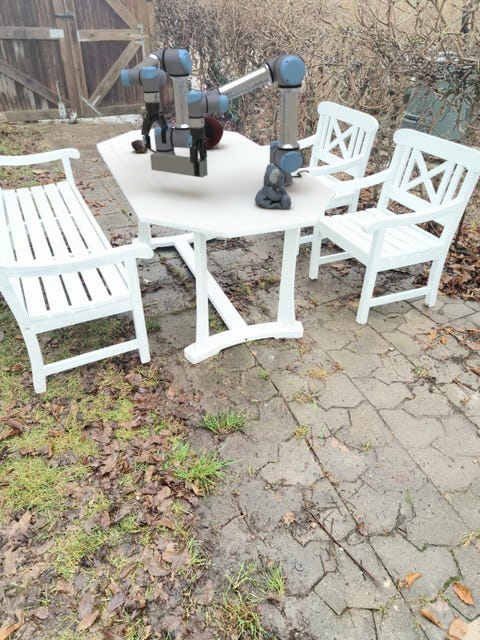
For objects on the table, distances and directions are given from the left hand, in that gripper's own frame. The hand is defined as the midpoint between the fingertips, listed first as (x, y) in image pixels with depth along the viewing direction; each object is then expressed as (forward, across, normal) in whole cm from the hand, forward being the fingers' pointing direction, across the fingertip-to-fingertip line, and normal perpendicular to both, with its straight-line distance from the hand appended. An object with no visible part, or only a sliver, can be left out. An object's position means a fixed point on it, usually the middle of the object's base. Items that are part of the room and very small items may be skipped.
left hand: (156, 146), depth 238 cm
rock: (+22, +60, +63) cm, 90 cm away
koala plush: (+24, +7, -65) cm, 69 cm away
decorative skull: (+22, +94, +27) cm, 100 cm away
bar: (+12, -1, -14) cm, 18 cm away
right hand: (+11, -1, -27) cm, 29 cm away
